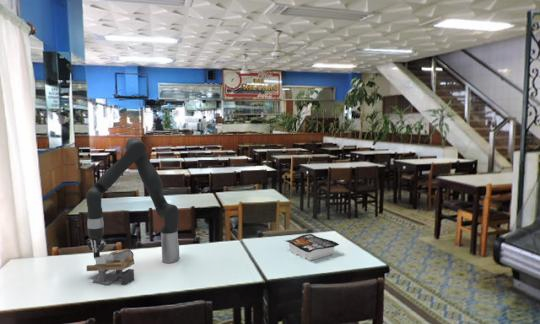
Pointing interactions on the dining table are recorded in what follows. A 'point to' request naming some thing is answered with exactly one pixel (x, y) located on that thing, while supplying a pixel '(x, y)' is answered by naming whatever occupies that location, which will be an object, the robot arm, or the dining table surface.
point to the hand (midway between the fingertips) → (96, 258)
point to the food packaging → (311, 246)
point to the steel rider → (104, 259)
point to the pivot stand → (115, 277)
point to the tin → (122, 254)
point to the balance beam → (113, 265)
